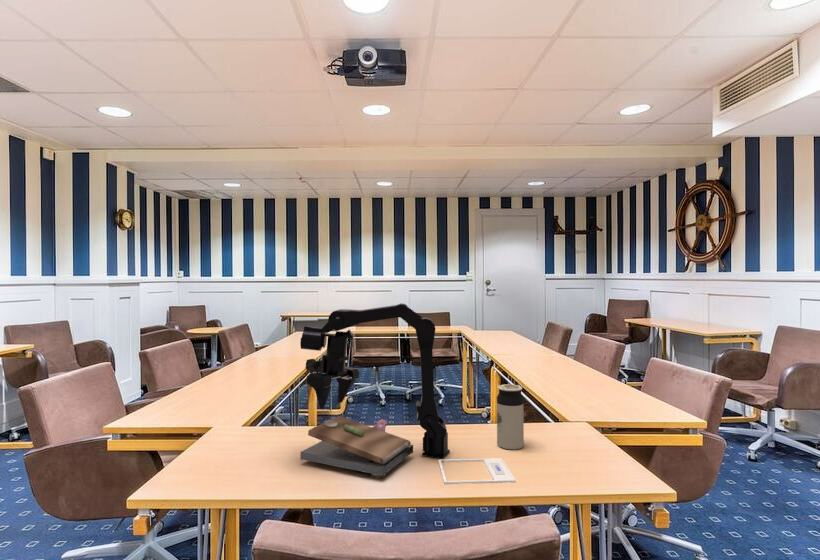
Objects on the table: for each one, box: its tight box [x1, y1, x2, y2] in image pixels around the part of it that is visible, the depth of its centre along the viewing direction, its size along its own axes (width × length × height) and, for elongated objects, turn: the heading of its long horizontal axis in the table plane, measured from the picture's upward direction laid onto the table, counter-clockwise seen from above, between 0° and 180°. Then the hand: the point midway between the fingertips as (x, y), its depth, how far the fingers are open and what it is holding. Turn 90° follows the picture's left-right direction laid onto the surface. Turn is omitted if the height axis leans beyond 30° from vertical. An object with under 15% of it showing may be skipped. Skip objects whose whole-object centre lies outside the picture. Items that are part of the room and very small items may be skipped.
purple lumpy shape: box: [372, 418, 388, 432], centre depth 148 cm, size 10×5×7 cm, turn 179°
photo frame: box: [437, 457, 517, 485], centre depth 122 cm, size 15×1×18 cm
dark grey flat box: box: [300, 440, 414, 479], centre depth 130 cm, size 26×18×4 cm
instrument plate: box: [307, 415, 412, 464], centre depth 129 cm, size 25×15×3 cm, turn 64°
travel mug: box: [496, 383, 525, 450], centre depth 141 cm, size 8×8×18 cm
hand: (331, 405), depth 135 cm, fingers open, 9 cm apart
